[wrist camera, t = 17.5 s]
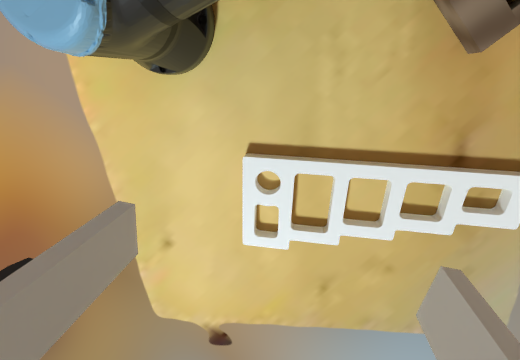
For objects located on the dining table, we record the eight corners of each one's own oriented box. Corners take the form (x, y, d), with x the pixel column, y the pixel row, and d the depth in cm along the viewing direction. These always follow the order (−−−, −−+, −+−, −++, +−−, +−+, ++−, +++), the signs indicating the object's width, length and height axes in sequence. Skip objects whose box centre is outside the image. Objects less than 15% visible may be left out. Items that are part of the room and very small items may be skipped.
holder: (526, 171, 41) (540, 177, 39) (486, 263, 48) (496, 273, 45) (245, 152, 47) (242, 156, 45) (245, 236, 54) (242, 244, 51)
